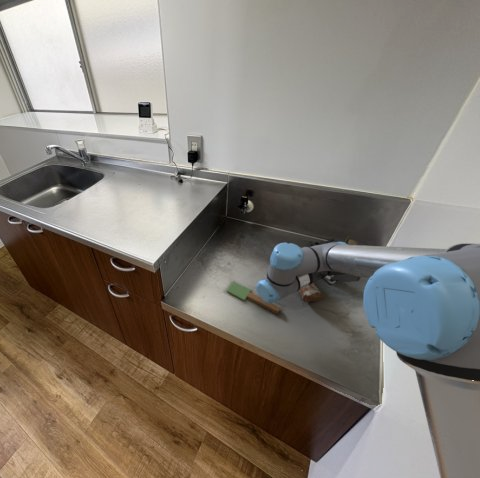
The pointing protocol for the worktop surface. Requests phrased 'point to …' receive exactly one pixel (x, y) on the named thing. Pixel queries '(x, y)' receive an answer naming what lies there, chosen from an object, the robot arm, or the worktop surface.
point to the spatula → (250, 296)
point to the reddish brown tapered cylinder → (310, 293)
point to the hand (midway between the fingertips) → (349, 251)
